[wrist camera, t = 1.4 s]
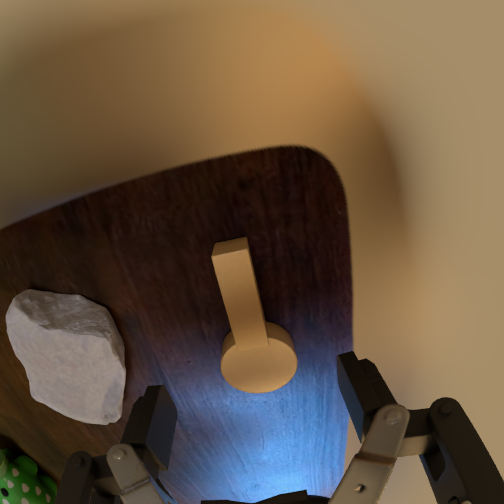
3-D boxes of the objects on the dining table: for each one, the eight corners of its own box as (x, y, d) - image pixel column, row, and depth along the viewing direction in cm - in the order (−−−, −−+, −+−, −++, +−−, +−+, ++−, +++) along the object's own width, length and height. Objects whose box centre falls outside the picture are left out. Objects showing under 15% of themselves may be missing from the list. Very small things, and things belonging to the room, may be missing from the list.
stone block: (127, 291, 21) (17, 280, 18) (117, 329, 16) (-9, 312, 14) (136, 394, 25) (46, 383, 22) (135, 433, 20) (35, 417, 18)
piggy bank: (23, 441, 27) (-9, 507, 13) (79, 495, 33) (62, 551, 18) (-20, 424, 27) (-50, 475, 13) (32, 479, 33) (13, 526, 19)
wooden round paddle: (189, 248, 18) (182, 262, 16) (272, 230, 18) (277, 242, 16) (231, 380, 22) (231, 402, 19) (297, 368, 21) (302, 389, 19)
